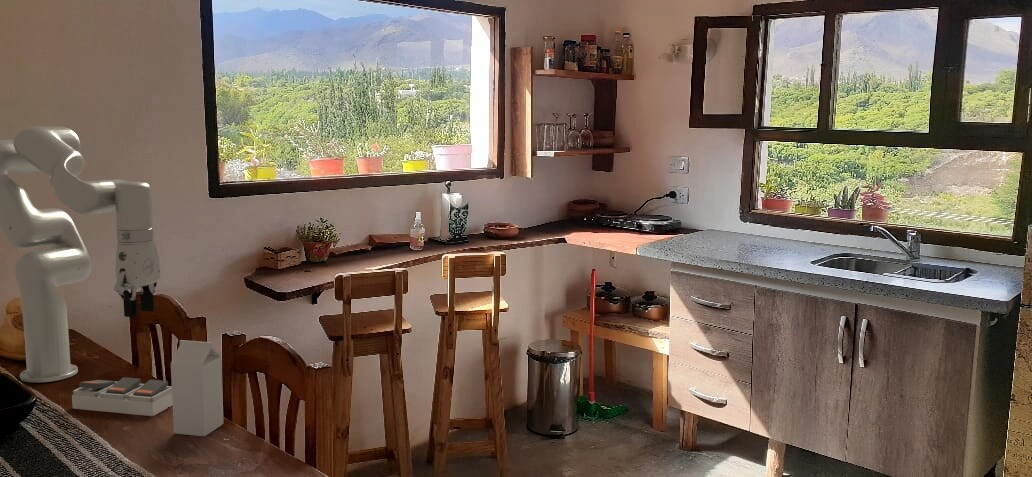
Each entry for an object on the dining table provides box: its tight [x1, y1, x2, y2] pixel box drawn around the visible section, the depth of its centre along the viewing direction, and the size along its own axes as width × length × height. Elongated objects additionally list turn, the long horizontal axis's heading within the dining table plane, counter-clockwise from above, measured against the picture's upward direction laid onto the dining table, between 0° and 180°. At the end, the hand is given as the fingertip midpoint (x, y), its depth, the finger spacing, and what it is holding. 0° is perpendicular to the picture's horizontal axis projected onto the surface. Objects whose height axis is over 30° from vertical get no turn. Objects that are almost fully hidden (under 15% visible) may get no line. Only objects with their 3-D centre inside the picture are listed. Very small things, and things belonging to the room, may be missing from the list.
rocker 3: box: [133, 379, 169, 397], centre depth 183 cm, size 4×6×1 cm
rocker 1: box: [78, 379, 116, 389], centre depth 186 cm, size 4×6×1 cm
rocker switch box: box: [71, 380, 173, 417], centre depth 185 cm, size 20×8×4 cm, turn 79°
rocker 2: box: [106, 376, 142, 394], centre depth 184 cm, size 4×6×1 cm
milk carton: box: [170, 339, 224, 437], centre depth 170 cm, size 7×7×19 cm
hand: (139, 313), depth 190 cm, fingers open, 5 cm apart
